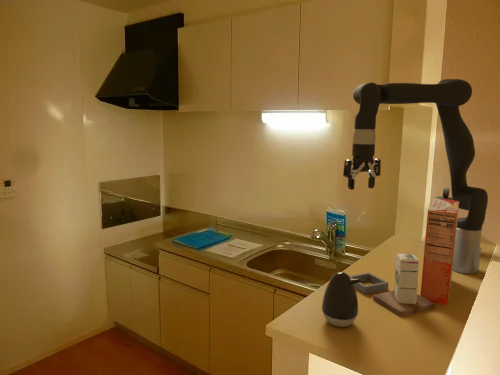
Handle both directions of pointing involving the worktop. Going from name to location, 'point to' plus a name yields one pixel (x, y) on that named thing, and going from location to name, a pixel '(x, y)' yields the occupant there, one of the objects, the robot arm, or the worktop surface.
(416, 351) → the worktop surface
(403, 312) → the board
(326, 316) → the pump dispenser
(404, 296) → the syrup box
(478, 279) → the worktop surface
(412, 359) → the worktop surface
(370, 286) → the holder
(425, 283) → the pasta box
